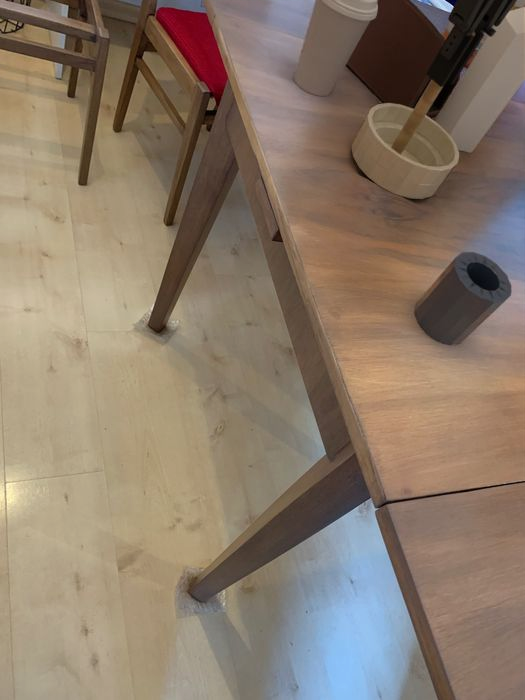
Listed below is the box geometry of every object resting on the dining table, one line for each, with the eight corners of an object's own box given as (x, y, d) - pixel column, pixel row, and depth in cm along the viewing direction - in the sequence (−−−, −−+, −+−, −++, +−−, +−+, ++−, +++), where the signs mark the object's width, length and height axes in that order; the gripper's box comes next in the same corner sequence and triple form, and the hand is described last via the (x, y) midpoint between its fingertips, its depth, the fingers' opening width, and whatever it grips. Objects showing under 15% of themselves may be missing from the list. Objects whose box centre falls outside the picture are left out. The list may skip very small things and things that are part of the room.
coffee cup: (331, 110, 88) (375, 13, 76) (277, 81, 87) (313, -21, 76) (345, 85, 94) (389, -9, 82) (295, 58, 93) (331, -40, 82)
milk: (441, 146, 92) (531, 10, 75) (431, 124, 96) (516, -11, 78) (472, 153, 94) (567, 22, 77) (461, 131, 97) (550, 1, 80)
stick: (401, 151, 82) (476, 31, 68) (399, 157, 81) (475, 36, 67) (391, 146, 82) (463, 24, 68) (389, 152, 81) (462, 29, 67)
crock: (465, 316, 70) (512, 269, 63) (460, 358, 65) (510, 312, 58) (416, 292, 70) (457, 242, 63) (407, 332, 65) (451, 283, 58)
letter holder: (401, 123, 92) (450, 39, 81) (331, 51, 99) (367, -35, 88) (438, 116, 98) (488, 37, 87) (368, 49, 104) (407, -33, 93)
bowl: (440, 166, 89) (463, 134, 84) (429, 217, 80) (454, 184, 75) (360, 124, 88) (378, 90, 83) (340, 172, 79) (358, 136, 74)
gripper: (575, -155, 60) (449, 56, 78) (511, -173, 51) (386, 68, 69) (631, -119, 58) (488, 88, 76) (574, -132, 49) (429, 105, 67)
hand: (440, 78), depth 73 cm, fingers closed on stick, 2 cm apart
